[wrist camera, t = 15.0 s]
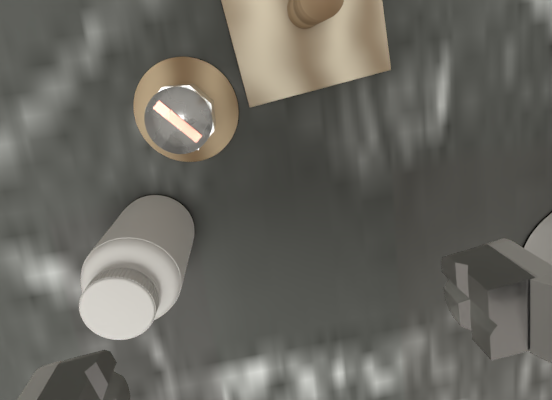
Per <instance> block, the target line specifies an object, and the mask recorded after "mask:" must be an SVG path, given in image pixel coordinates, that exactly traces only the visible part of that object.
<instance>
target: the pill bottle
mask: <svg viewBox="0 0 552 400" xmlns="http://www.w3.org/2000/svg"><path fill="white" fill-rule="evenodd" d="M193 240H194V223H193V220H192V217H191V215H190V213H189V212H188V211H187V209H186V208H185V207H184V206H183V205H182V204H180V203H179V202H178V201H176V200H174V199H172V198H169V197H166V196H161V195H149V196H145V197H141V198H139V199H137V200H135V201H134V202H132V203H131V204H130V205H128V206H127V207H126V208H125V209H124V211H123V212H122V213H121V214H120V216H119V217H118V218H117V220H116V221H115V222H114V223H113V225H112V226H111V227H110V228H109V230H108V231H107V232H106V233H105V235H104V236H103V237H102V238H101V240H100V241H99V242H98V243H97V245H96V246H95V247H94V249H93V250H92V251H91V252H90V254H89V255H88V257H87V258H86V260H85V262H84V264H83V267H82V271H81V288H82V292H83V293H82V295H81V298H80V301H79V310H80V315H81V317H82V320H83V321H84V323H85V324H86V326H87V327H88V328H89V329H90V330H92V331H93V332H94V333H96V334H98V335H100V336H102V337H105V338H108V339H113V340H125V339H130V338H133V337H136V336H138V335H140V334H142V333H143V332H145V331H146V330H147V329H148V328H149V327H150V326H151V324H152V322H153V321H154V320H155V319H157V318H159V317H161V316H162V315H163V314H165V313H166V312H167V311H168V310H169V309H170V308H171V307H172V306H173V305H174V303H175V302H176V300H177V298H178V296H179V294H180V291H181V288H182V284H183V280H184V276H185V272H186V268H187V264H188V260H189V256H190V252H191V248H192V244H193Z"/></svg>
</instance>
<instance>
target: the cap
mask: <svg viewBox="0 0 552 400" xmlns="http://www.w3.org/2000/svg"><path fill="white" fill-rule="evenodd" d="M144 121H145V127H146V130H147V133H148V134H149V136H150V138H151V139H152V141H153V142H154V143H155V144H156V145H157V146H159V147H160V148H162V149H163V150H165V151H167V152H170V153H174V154H187V153H191V152H194V151H196V150H199V148H200V147H202V146H203V145H204V144H205V142H206V141H207V140H208V138H209V136H210V135H211V134H212V133H213V131H214V130H215V126H216V119H215V110H214V101H213V99H212V98H210V97H209V96H208V95H207V94H206V93H205V92H203V91H202V90H201V89H200V88H199V87H198V86H196V85H195V84H179V85H168V86H165V87H162V88H161V89H160V90H159V92H158V93H156V94H155V95H154V96H153V97H152V98H151V99H150V101H149V102H148V104H147V107H146V110H145V115H144Z"/></svg>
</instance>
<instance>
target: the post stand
mask: <svg viewBox="0 0 552 400" xmlns="http://www.w3.org/2000/svg"><path fill="white" fill-rule="evenodd" d="M221 2H222V6H223V10H224V13H225V17H226V21H227V25H228V29H229V32H230V36H231V40H232V44H233V47H234V51H235V55H236V59H237V62H238V66H239V70H240V74H241V77H242V81H243V85H244V89H245V92H246V96H247V100H248V104H249V107H254V106H257V105H261V104H265V103H269V102H272V101H276V100H280V99H284V98H287V97H291V96H295V95H299V94H302V93H306V92H310V91H314V90H317V89H321V88H325V87H328V86H332V85H336V84H340V83H343V82H347V81H351V80H355V79H358V78H362V77H366V76H370V75H373V74H377V73H381V72H385V71H388V70H391V65H390V57H389V50H388V42H387V34H386V26H385V19H384V11H383V3H382V0H221Z"/></svg>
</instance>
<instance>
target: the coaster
mask: <svg viewBox="0 0 552 400" xmlns="http://www.w3.org/2000/svg"><path fill="white" fill-rule="evenodd" d="M179 84H195V85H196V86H198V87H199V88H200V89H201V90H202V91H203V92H205V93H206V94H207V95H208V96H209V97H210V98H212V99H213V101H214V110H215V119H216V126H215V130H214V131H213V133H212V134H211V135H210V136H209V138H208V140H207V141H206V142H205V144H204V145H203V146H202V147H200V148H199V150H196V151H194V152H191V153H187V154H174V153H170V152H167V151H165V150H163V149H162V148H160V147H159V146H157V145H156V144H155V143H154V142H153V141H152V139H151V138H150V136H149V134H148V133H147V130H146V127H145V121H144V115H145V110H146V107H147V104H148V102H149V101H150V99H151V98H152V97H153V96H154V95H155V94H156V93H158V92H159V90H160V89H161V88H162V87H165V86H168V85H179ZM238 114H239V111H238V102H237V98H236V95H235V92H234V90H233V88H232V86H231V84H230V83H229V81H228V80H227V78H226V77H225V76H224V75H223V74H222V73H221V72H220V71H219V70H218V69H217V68H215V67H214V66H212V65H211V64H209V63H207V62H205V61H202V60H199V59H196V58H191V57H174V58H169V59H166V60H163V61H161V62H159V63H157V64H156V65H154V66H153V67H152V68H150V69H149V70H148V71H147V72H146V73H145V75H144V76H143V77H142V79H141V80H140V82H139V84H138V86H137V89H136V92H135V96H134V115H135V120H136V123H137V126H138V128H139V130H140V132H141V134H142V136H143V137H144V139H145V140H146V141H147V142H148V143H149V144H150V145H151V146H152V147H153V148H154V149H155V150H156V151H158V152H159V153H161V154H162V155H164V156H166V157H168V158H171V159H174V160H178V161H183V162H196V161H201V160H205V159H208V158H210V157H212V156H214V155H216V154H217V153H219V152H220V151H221V150H222V149H224V148H225V147H226V145H227V144H228V143H229V142H230V140H231V139H232V137H233V135H234V133H235V130H236V127H237V123H238Z"/></svg>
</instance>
